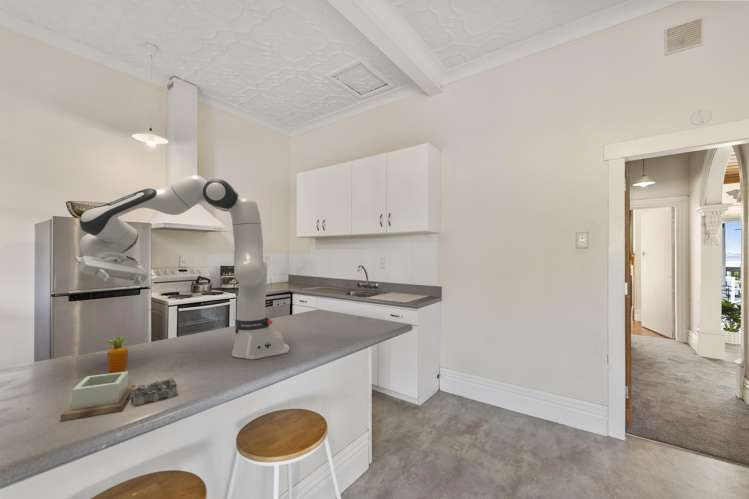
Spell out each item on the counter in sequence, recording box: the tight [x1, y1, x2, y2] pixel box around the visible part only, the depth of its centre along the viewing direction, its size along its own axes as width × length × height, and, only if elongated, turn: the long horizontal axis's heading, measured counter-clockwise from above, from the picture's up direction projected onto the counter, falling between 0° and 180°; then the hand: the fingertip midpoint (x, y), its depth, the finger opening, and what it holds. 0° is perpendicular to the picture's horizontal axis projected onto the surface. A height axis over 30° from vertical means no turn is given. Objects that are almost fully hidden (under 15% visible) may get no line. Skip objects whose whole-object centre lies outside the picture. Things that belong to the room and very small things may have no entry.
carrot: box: [106, 334, 129, 374], centre depth 98 cm, size 5×5×15 cm
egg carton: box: [130, 376, 178, 406], centre depth 90 cm, size 11×8×4 cm
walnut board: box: [60, 384, 136, 422], centre depth 86 cm, size 12×14×2 cm
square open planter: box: [71, 370, 129, 410], centre depth 86 cm, size 9×9×5 cm
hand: (124, 281), depth 108 cm, fingers open, 8 cm apart
